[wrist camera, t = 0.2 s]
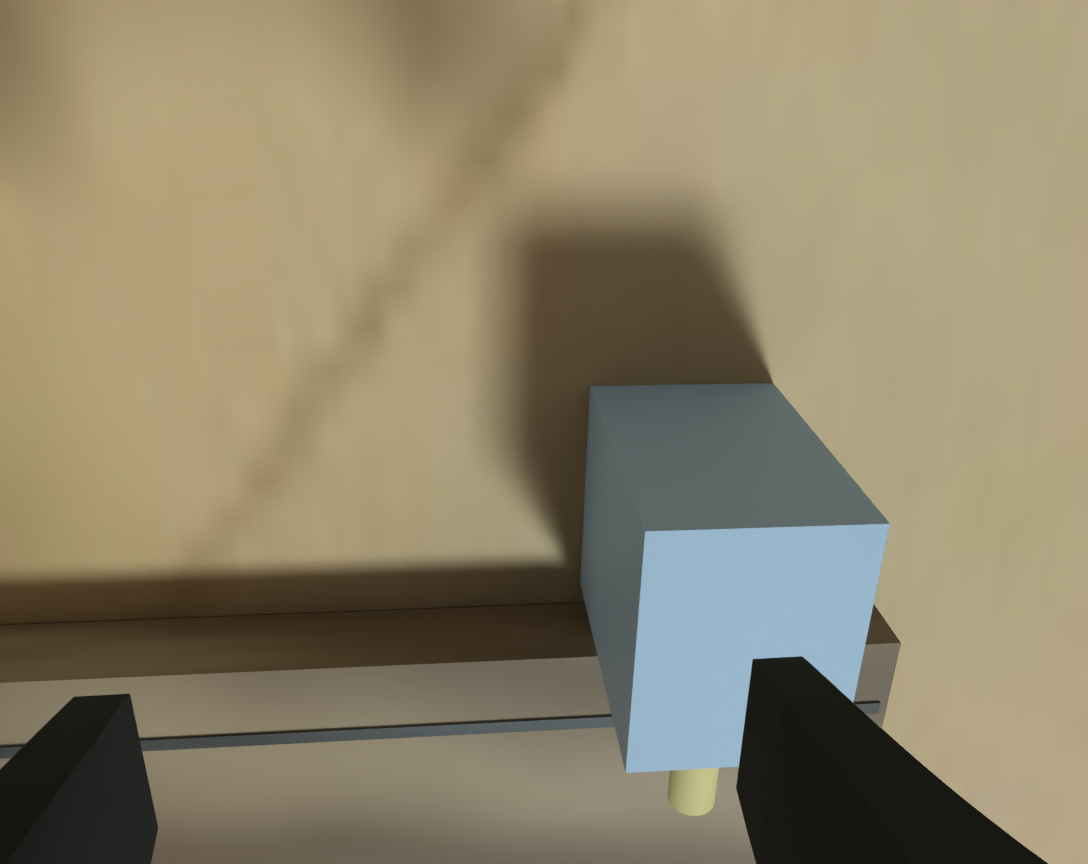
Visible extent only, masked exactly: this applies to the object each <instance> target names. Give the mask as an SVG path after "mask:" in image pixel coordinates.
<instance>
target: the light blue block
mask: <svg viewBox="0 0 1088 864" xmlns="http://www.w3.org/2000/svg"><path fill="white" fill-rule="evenodd" d="M889 526H890V523H889V522H888V521H887V520H886V518H885V517H884V516H883V515H882V514H881V512H880V511H879V510H878V509H877V508H876V506H875V505H874V504H873V503H872V502H871V500H870V499H869V498H868V497H867V496H866V494H865V493H864V492H863V491H862V490H861V488H860V487H859V486H858V485H857V483H856V482H855V481H854V480H853V479H852V477H851V476H850V475H849V474H848V473H847V471H846V470H845V469H844V468H843V467H842V465H841V464H840V463H839V462H838V461H837V459H836V458H835V457H834V456H833V455H832V453H831V452H830V451H829V450H828V449H827V447H826V446H825V445H824V444H823V443H822V441H821V440H820V439H819V438H818V436H817V435H816V434H815V433H814V432H813V430H812V429H811V428H810V427H809V426H808V424H807V423H806V422H805V421H804V420H803V418H802V417H801V416H800V415H799V414H798V412H797V411H796V410H795V409H794V408H793V406H792V405H791V404H790V403H789V402H788V400H787V399H786V398H785V397H784V396H783V394H782V393H781V392H780V391H779V389H778V388H777V387H776V386H775V385H774V383H749V384H684V385H618V386H590V396H589V417H588V437H587V457H586V477H585V498H584V518H583V538H582V558H581V578H580V585H581V589H582V593H583V598H584V602H585V606H586V610H587V614H588V618H589V623H590V627H591V631H592V635H593V639H594V643H595V648H596V652H597V656H598V660H599V664H600V668H601V673H602V677H603V681H604V685H605V689H606V693H607V698H608V702H609V706H610V710H611V714H612V718H613V723H614V727H615V731H616V735H617V739H618V743H619V748H620V752H621V756H622V760H623V764H624V768H625V773H636V772H653V771H670V775H669V785H668V794H667V796H668V801H669V803H670V804H671V806H672V807H673V808H674V809H675V810H677V811H678V812H680V813H682V814H685V815H689V816H700V815H704V814H706V813H708V812H709V811H710V810H711V809H712V808H713V806H714V802H715V795H716V787H717V780H718V772H719V768H723V767H739V762H740V754H741V746H742V738H743V731H744V723H745V715H746V707H747V700H748V692H749V684H750V676H751V669H752V661H753V659H762V658H780V657H798V656H802V657H804V658H805V659H806V660H807V661H808V662H809V663H810V664H812V665H813V666H814V667H815V668H816V669H817V670H818V671H819V672H820V673H821V674H823V675H824V676H825V677H826V678H827V679H828V680H829V681H830V682H831V683H832V684H833V685H835V686H836V687H837V688H838V689H839V690H840V691H841V692H842V693H843V694H844V695H845V696H846V697H847V698H849V699H850V700H851V701H852V702H854V697H855V692H856V688H857V683H858V678H859V673H860V668H861V663H862V658H863V653H864V648H865V643H866V639H867V634H868V629H869V624H870V619H871V614H872V609H873V604H874V599H875V595H876V590H877V585H878V580H879V575H880V570H881V565H882V560H883V555H884V550H885V546H886V541H887V536H888V531H889Z"/></svg>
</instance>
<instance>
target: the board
mask: <svg viewBox="0 0 1088 864" xmlns="http://www.w3.org/2000/svg"><path fill="white" fill-rule="evenodd" d="M900 644H901V643H900V641H899V640H898V638H897V637H896V635H895V634H894V632H893V631H892V630H891V628H890V627H889V625H888V624H887V622H886V621H885V620H884V618H883V617H882V615H881V614H880V612H879V611H878V610H877V608H876V607H875V605H874V604H873V609H872V614H871V619H870V624H869V629H868V634H867V639H866V643H865V648H864V653H863V658H862V663H861V668H860V673H859V678H858V683H857V688H856V692H855V697H854V702H853V703H854V704H855V705H856V706H857V707H858V708H859V709H861V710H862V711H863V712H864V713H865V714H866V715H867V716H868V717H869V718H870V719H872V720H873V721H874V722H875V723H876V724H877V725H878V726H879V727H880V728H881V729H882V725H883V721H884V716H885V712H886V707H887V703H888V698H889V694H890V689H891V685H892V680H893V676H894V671H895V667H896V662H897V658H898V653H899V649H900ZM114 694H130V696H131V701H132V705H133V710H134V715H135V720H136V724H137V729H138V734H139V738H140V743H141V748H142V753H143V757H144V762H145V767H146V772H147V776H148V781H149V786H150V791H151V795H152V800H153V805H154V809H155V814H156V819H157V824H158V832H157V837H156V841H155V846H154V851H153V856H152V861H151V864H756V861H755V858H754V854H753V851H752V847H751V843H750V840H749V836H748V833H747V829H746V825H745V821H744V817H743V813H742V809H741V805H740V801H739V797H738V793H737V789H736V785H737V777H738V769H739V767H723V768H719V772H718V780H717V787H716V795H715V802H714V806H713V808H712V809H711V810H710V811H709V812H708V813H706V814H704V815H700V816H689V815H685V814H682V813H680V812H678V811H677V810H675V809H674V808H673V807H672V806H671V804H670V803H669V801H668V796H667V794H668V785H669V775H670V771H653V772H636V773H625V768H624V764H623V760H622V756H621V752H620V748H619V743H618V739H617V735H616V731H615V727H614V723H613V718H612V714H611V710H610V706H609V702H608V698H607V693H606V689H605V685H604V681H603V677H602V673H601V668H600V664H599V660H598V656H597V652H596V648H595V643H594V639H593V635H592V631H591V627H590V623H589V618H588V614H587V610H586V606H585V603H564V604H538V605H512V606H486V607H460V608H434V609H408V610H382V611H356V612H330V613H304V614H278V615H252V616H226V617H200V618H174V619H148V620H122V621H96V622H70V623H44V624H18V625H0V769H1V768H2V767H3V766H4V765H5V764H6V763H7V762H8V761H9V760H10V759H11V758H12V757H13V756H14V755H15V754H16V753H17V752H18V751H19V750H20V749H21V748H22V747H23V746H24V745H25V744H26V743H27V742H28V741H29V740H30V739H31V738H32V737H33V736H34V735H35V734H36V733H37V732H38V731H39V730H40V729H41V728H42V727H43V726H44V725H45V724H46V723H47V722H48V721H49V720H50V719H51V718H52V717H53V716H54V715H55V714H57V713H58V712H59V711H60V710H61V709H62V708H63V707H64V706H65V705H66V704H67V703H68V702H69V701H70V700H71V699H72V698H73V697H78V696H96V695H114Z"/></svg>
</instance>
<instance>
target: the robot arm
mask: <svg viewBox="0 0 1088 864" xmlns="http://www.w3.org/2000/svg"><path fill="white" fill-rule="evenodd" d="M736 789H737V793H738V797H739V801H740V805H741V809H742V813H743V817H744V821H745V825H746V829H747V833H748V836H749V840H750V843H751V847H752V851H753V854H754V858H755V861H756V864H1048V863H1046V862H1045V861H1044V860H1042V859H1041V858H1040V857H1038V856H1037V855H1035V854H1034V853H1033V852H1031V851H1030V850H1029V849H1027V848H1026V847H1024V846H1023V845H1022V844H1020V843H1019V842H1018V841H1016V840H1015V839H1014V838H1013V837H1011V836H1010V835H1009V834H1007V833H1006V832H1005V831H1004V830H1002V829H1001V828H1000V827H998V826H997V825H996V824H995V823H993V822H992V821H991V820H990V819H988V818H987V817H986V816H984V815H983V814H982V813H981V812H979V811H978V810H977V809H975V808H974V807H973V806H972V805H970V804H969V803H968V802H967V801H965V800H964V799H963V798H962V797H960V796H959V795H958V794H957V793H956V792H954V791H953V790H952V789H951V788H950V787H948V786H947V785H946V784H945V783H943V782H942V781H941V780H940V779H939V778H938V777H936V776H935V775H934V774H933V773H932V772H930V771H929V770H928V769H927V768H926V767H925V766H923V765H922V764H921V763H920V762H919V761H918V760H916V759H915V758H914V757H913V756H912V755H911V754H910V753H908V752H907V751H906V750H905V749H904V748H903V747H902V746H900V745H899V744H898V743H897V742H896V741H895V740H894V739H893V738H891V737H890V736H889V735H888V734H887V733H886V732H885V731H884V730H883V729H881V728H880V727H879V726H878V725H877V724H876V723H875V722H874V721H873V720H872V719H870V718H869V717H868V716H867V715H866V714H865V713H864V712H863V711H862V710H861V709H859V708H858V707H857V706H856V705H855V704H854V703H853V702H852V701H851V700H850V699H849V698H847V697H846V696H845V695H844V694H843V693H842V692H841V691H840V690H839V689H838V688H837V687H836V686H835V685H833V684H832V683H831V682H830V681H829V680H828V679H827V678H826V677H825V676H824V675H823V674H821V673H820V672H819V671H818V670H817V669H816V668H815V667H814V666H813V665H812V664H810V663H809V662H808V661H807V660H806V659H805V658H804V657H802V656H798V657H780V658H762V659H753V661H752V669H751V676H750V684H749V692H748V700H747V707H746V715H745V723H744V731H743V738H742V746H741V754H740V762H739V769H738V777H737V785H736ZM157 832H158V824H157V819H156V814H155V809H154V805H153V800H152V795H151V791H150V786H149V781H148V776H147V772H146V767H145V762H144V757H143V753H142V748H141V743H140V738H139V734H138V729H137V724H136V720H135V715H134V710H133V705H132V701H131V696H130V694H114V695H96V696H78V697H73V698H72V699H71V700H70V701H69V702H68V703H67V704H66V705H65V706H64V707H63V708H62V709H61V710H60V711H59V712H58V713H57V714H55V715H54V716H53V717H52V718H51V719H50V720H49V721H48V722H47V723H46V724H45V725H44V726H43V727H42V728H41V729H40V730H39V731H38V732H37V733H36V734H35V735H34V736H33V737H32V738H31V739H30V740H29V741H28V742H27V743H26V744H25V745H24V746H23V747H22V748H21V749H20V750H19V751H18V752H17V753H16V754H15V755H14V756H13V757H12V758H11V759H10V760H9V761H8V762H7V763H6V764H5V765H4V766H3V767H2V768H1V769H0V864H151V861H152V856H153V851H154V846H155V841H156V837H157Z"/></svg>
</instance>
